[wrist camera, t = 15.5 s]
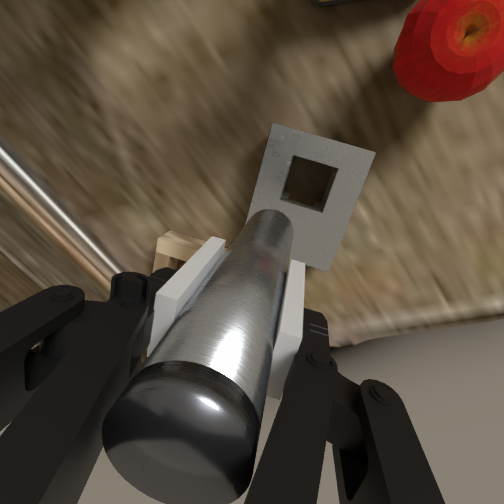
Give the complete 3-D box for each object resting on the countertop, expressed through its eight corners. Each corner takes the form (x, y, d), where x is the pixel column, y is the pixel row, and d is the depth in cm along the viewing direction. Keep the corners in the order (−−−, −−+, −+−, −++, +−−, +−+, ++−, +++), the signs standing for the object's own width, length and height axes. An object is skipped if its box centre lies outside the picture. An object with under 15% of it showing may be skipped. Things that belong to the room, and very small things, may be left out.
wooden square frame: (161, 283, 49) (148, 295, 45) (170, 230, 46) (158, 238, 42) (215, 301, 49) (207, 315, 45) (229, 248, 45) (222, 258, 42)
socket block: (249, 230, 44) (240, 244, 38) (278, 124, 39) (272, 122, 33) (326, 254, 43) (328, 272, 38) (366, 150, 38) (376, 152, 32)
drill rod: (241, 247, 25) (97, 479, 8) (252, 203, 23) (107, 370, 7) (286, 260, 24) (233, 527, 8) (299, 216, 23) (271, 424, 6)
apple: (485, 81, 34) (570, 53, 23) (399, 125, 36) (437, 119, 25) (456, -10, 32) (535, -90, 21) (368, 44, 34) (394, -1, 23)
